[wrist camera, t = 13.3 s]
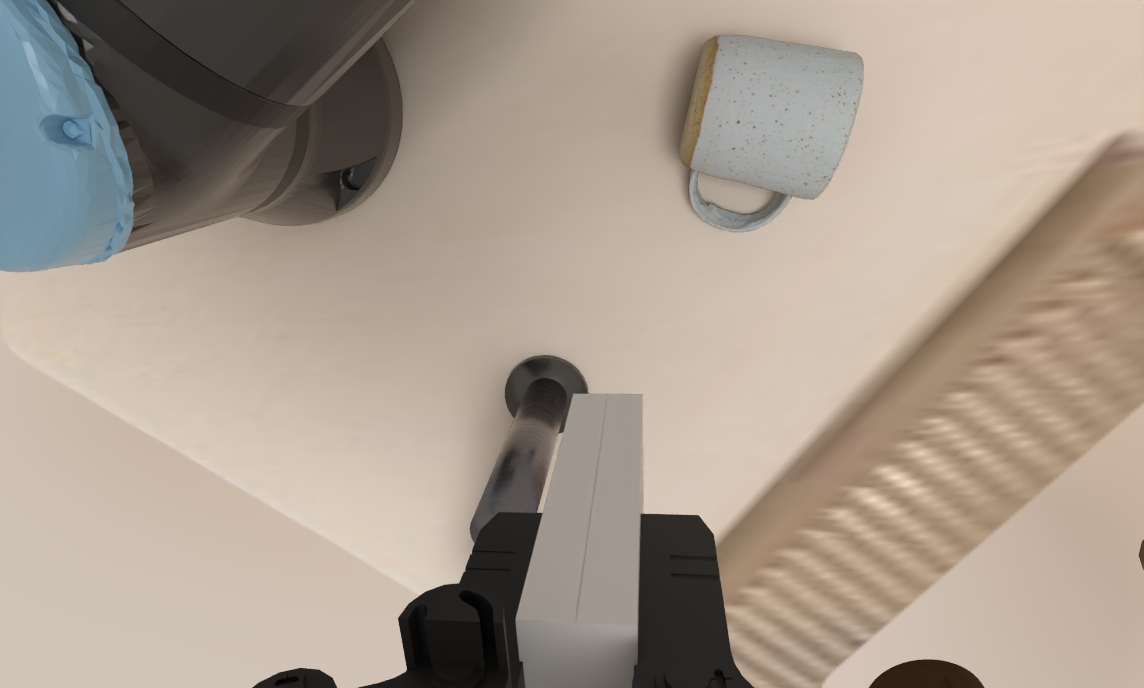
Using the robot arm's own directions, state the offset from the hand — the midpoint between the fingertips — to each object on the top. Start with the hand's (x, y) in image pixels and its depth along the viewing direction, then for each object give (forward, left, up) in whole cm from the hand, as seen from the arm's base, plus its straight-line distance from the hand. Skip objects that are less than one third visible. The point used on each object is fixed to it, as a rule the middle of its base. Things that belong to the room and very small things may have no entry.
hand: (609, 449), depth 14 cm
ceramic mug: (+7, +5, -30) cm, 31 cm away
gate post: (-6, -12, -29) cm, 33 cm away
